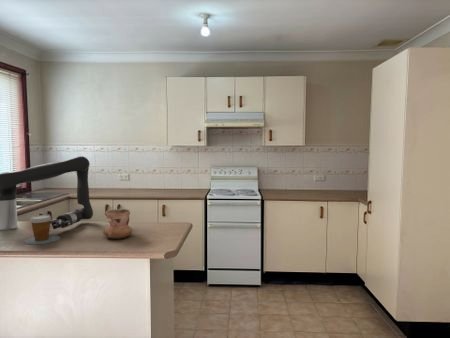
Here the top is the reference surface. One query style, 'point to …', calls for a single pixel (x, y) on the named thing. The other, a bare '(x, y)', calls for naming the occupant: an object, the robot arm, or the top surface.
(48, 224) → the disposable coffee cup
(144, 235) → the top surface
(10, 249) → the top surface
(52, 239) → the mat
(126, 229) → the ceramic jug
